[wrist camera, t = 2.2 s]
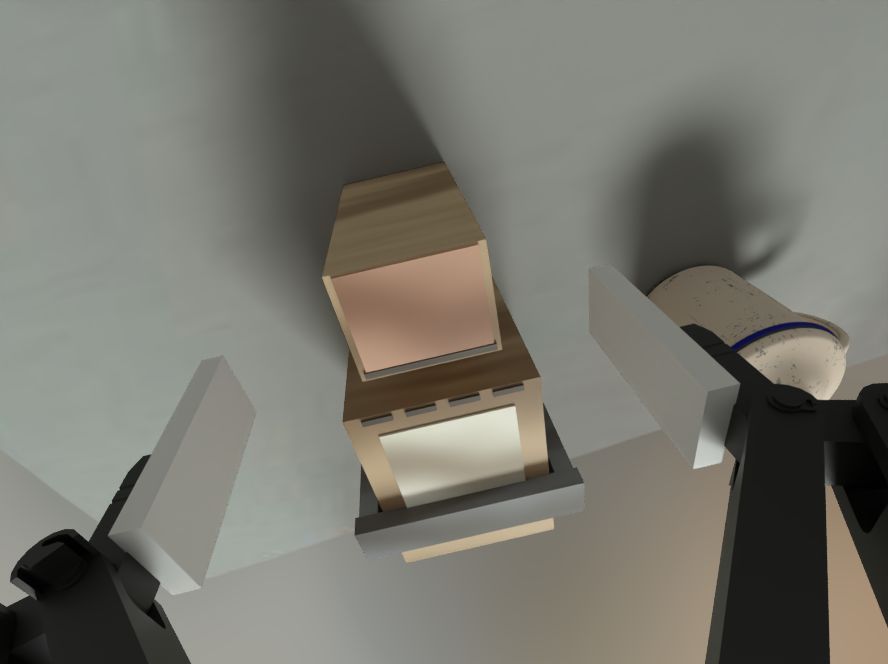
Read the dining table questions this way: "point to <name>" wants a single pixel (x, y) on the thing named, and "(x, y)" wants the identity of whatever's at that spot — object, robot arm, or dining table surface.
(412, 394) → the tan wooden crate
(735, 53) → the dining table surface
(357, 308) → the pink-ended wooden block
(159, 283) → the dining table surface
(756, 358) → the teacup with lid
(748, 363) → the robot arm
